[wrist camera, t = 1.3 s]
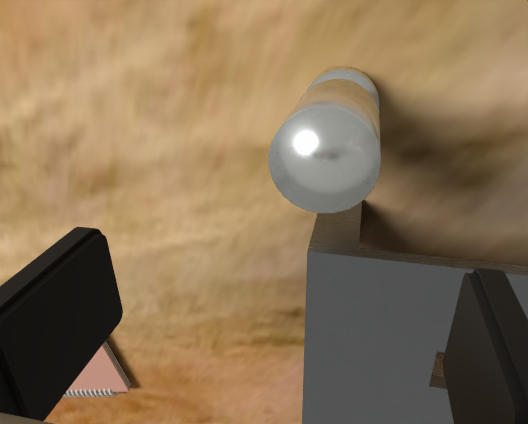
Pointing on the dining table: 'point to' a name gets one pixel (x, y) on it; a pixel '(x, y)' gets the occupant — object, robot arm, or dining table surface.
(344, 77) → the peg
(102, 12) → the dining table surface
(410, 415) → the grey windowed bracket
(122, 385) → the notebook
